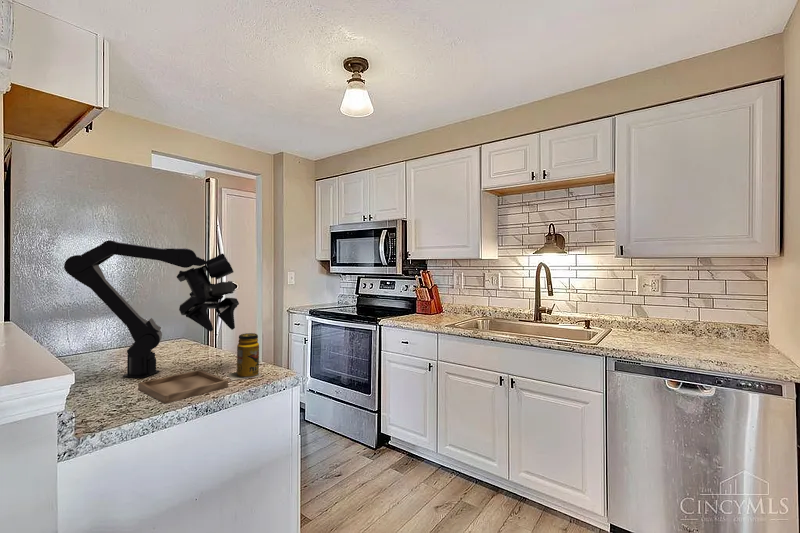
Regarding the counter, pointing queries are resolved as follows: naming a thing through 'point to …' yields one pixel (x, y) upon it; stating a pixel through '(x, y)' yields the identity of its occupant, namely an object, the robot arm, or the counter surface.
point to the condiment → (247, 357)
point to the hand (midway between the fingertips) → (223, 329)
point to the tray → (182, 386)
